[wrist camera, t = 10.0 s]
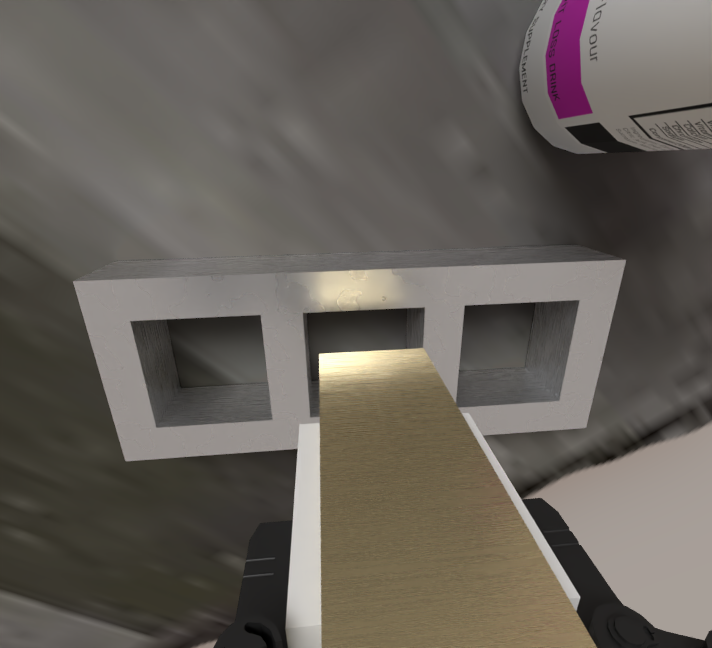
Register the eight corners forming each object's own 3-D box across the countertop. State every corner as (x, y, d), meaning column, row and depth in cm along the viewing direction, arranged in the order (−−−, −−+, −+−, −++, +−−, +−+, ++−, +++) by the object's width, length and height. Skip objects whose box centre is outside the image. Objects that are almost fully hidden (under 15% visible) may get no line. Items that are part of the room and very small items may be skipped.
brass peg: (324, 441, 18) (343, 1271, 5) (319, 353, 17) (327, 1251, 3) (419, 434, 19) (704, 1188, 5) (424, 348, 17) (872, 1125, 3)
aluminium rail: (153, 417, 25) (125, 461, 21) (115, 261, 21) (72, 281, 18) (549, 391, 27) (585, 427, 23) (577, 244, 23) (626, 259, 20)
